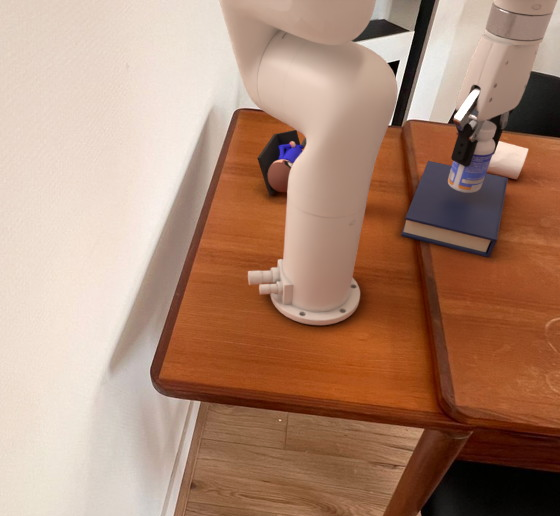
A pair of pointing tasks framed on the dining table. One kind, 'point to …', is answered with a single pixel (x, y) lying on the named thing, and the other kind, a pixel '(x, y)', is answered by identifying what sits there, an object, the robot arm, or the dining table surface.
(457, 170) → the pill bottle
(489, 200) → the book
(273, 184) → the character figurine
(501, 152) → the roll
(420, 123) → the dining table surface
